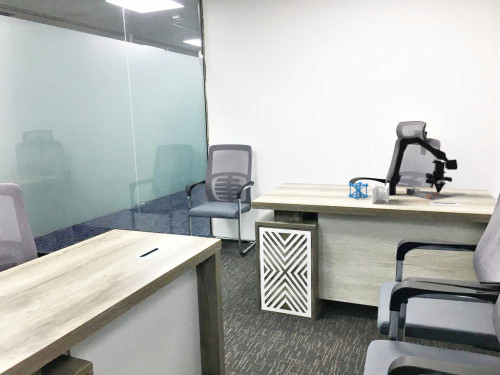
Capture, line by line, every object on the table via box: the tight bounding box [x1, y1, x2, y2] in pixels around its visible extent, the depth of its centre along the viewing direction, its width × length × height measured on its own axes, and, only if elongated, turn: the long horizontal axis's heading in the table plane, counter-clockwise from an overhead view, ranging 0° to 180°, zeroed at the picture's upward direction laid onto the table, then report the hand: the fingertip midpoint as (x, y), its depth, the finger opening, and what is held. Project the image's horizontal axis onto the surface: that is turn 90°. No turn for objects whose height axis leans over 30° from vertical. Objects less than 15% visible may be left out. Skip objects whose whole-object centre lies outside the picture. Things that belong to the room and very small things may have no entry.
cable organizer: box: [370, 182, 390, 204], centre depth 259 cm, size 15×11×12 cm
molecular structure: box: [348, 181, 369, 200], centre depth 276 cm, size 10×10×10 cm
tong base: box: [405, 187, 432, 200], centre depth 270 cm, size 20×6×5 cm, turn 25°
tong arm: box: [415, 190, 440, 196], centre depth 273 cm, size 14×2×2 cm, turn 60°
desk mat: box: [404, 193, 455, 201], centre depth 273 cm, size 20×25×1 cm
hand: (438, 192), depth 273 cm, fingers closed
